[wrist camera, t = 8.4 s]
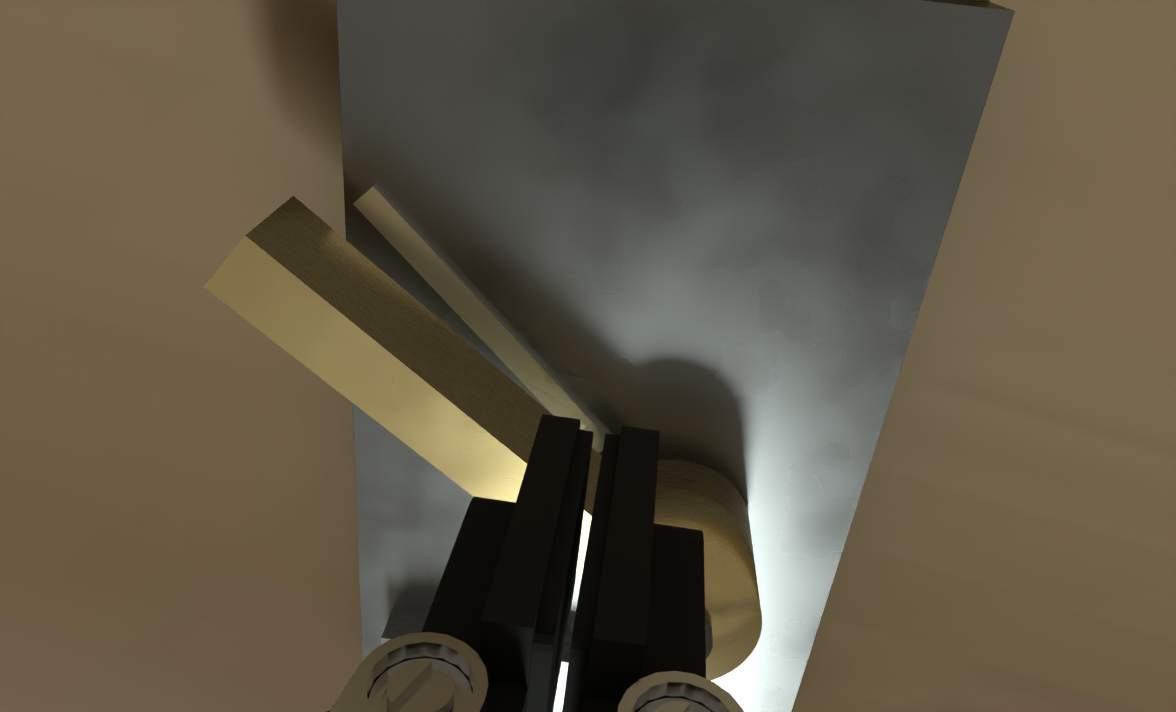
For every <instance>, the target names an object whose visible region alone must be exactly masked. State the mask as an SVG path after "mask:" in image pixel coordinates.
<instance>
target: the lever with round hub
mask: <svg viewBox="0 0 1176 712" xmlns="http://www.w3.org/2000/svg"><path fill="white" fill-rule="evenodd" d="M204 288H206V289H207V290H208V291H210V292H211V293H212V294H213V295H215V296H216V297H217V298H219V299H220V300H221V301H222V302H224V303H225V304H226V305H228V306H229V307H230V308H231V309H233V310H234V311H235V312H237V313H238V314H239V315H240V316H242V317H243V318H244V319H246V320H247V321H248V322H249V323H251V324H252V325H253V326H255V327H256V328H257V329H258V330H260V331H261V332H262V333H264V334H265V335H266V336H267V337H269V338H270V339H271V340H273V341H274V342H275V343H276V344H278V345H279V346H280V347H282V348H283V349H284V350H285V351H287V352H288V353H289V354H291V355H292V356H293V357H294V358H296V359H297V360H298V361H300V362H301V363H302V364H303V365H305V366H306V367H307V368H309V369H310V370H311V371H312V372H314V373H315V374H316V375H318V376H319V377H320V378H321V379H323V380H324V381H325V382H327V383H328V384H329V385H330V386H332V387H333V388H334V389H336V390H337V391H338V392H339V393H341V394H342V395H343V396H345V397H346V398H347V399H348V400H350V401H351V402H352V403H354V404H355V405H356V406H357V407H359V408H360V409H361V410H363V411H364V412H365V413H366V414H368V415H369V416H370V417H372V418H373V419H374V420H375V421H377V422H378V423H379V424H381V425H382V426H383V427H384V428H386V429H387V430H388V431H390V432H391V433H392V434H393V435H395V436H396V437H397V438H399V439H400V440H401V441H402V442H404V443H405V444H406V445H408V446H409V447H410V448H411V449H413V450H414V451H415V452H417V453H418V454H419V455H420V456H422V457H423V458H424V459H426V460H427V461H428V462H429V463H431V464H432V465H433V466H435V467H436V468H437V469H438V470H440V471H441V472H442V473H444V474H445V475H446V476H447V477H449V478H450V479H451V480H453V481H454V482H455V483H456V484H458V485H459V486H460V487H462V488H463V489H464V490H465V491H467V492H468V493H469V494H471V495H472V496H473V497H474V496H475V497H482V498H489V499H495V500H502V501H509V502H515V503H516V500H517V497H518V494H519V490H520V487H521V483H522V480H523V477H524V473H525V470H526V467H527V463H528V460H529V457H530V453H531V450H532V446H533V443H534V440H535V436H536V433H537V430H538V426H539V423H540V420H541V417H542V415H543V414H547V415H553V414H552V413H550V412H549V411H548V410H547V409H546V408H545V407H543V406H542V405H541V404H540V403H539V402H537V401H536V400H535V399H534V398H533V397H531V396H530V395H529V394H528V393H527V392H526V391H524V390H523V389H522V388H521V387H520V386H518V385H517V384H516V383H515V382H514V381H512V380H511V379H510V378H509V377H508V376H507V375H505V374H504V373H503V372H502V371H501V370H499V369H498V368H497V367H496V366H495V365H493V364H492V363H491V362H490V361H489V360H488V359H486V358H485V357H484V356H483V355H482V354H480V353H479V352H478V351H477V350H476V349H474V348H473V347H472V346H471V345H470V344H469V343H467V342H466V341H465V340H464V339H463V338H461V337H460V336H459V335H458V334H457V333H455V332H454V331H453V330H452V329H451V328H450V327H448V326H447V325H446V324H445V323H444V322H442V321H441V320H440V319H439V318H438V317H436V316H435V315H434V314H433V313H432V312H431V311H429V310H428V309H427V308H426V307H425V306H423V305H422V304H421V303H420V302H419V301H417V300H416V299H415V298H414V297H413V296H412V295H410V294H409V293H408V292H407V291H406V290H404V289H403V288H402V287H401V286H400V285H398V284H397V283H396V282H395V281H394V280H393V279H391V278H390V277H389V276H388V275H387V274H385V273H384V272H383V271H382V270H381V269H379V268H378V267H377V266H376V265H375V264H374V263H372V262H371V261H370V260H369V259H368V258H366V257H365V256H364V255H363V254H362V253H360V252H359V251H358V250H357V249H356V248H355V247H353V246H352V245H351V244H350V243H349V242H347V241H346V240H345V239H344V238H343V237H341V236H340V235H339V234H338V233H337V232H336V231H334V230H333V229H332V228H331V227H330V226H328V225H327V224H326V223H325V222H324V221H322V220H321V219H320V218H319V217H318V216H317V215H315V214H314V213H313V212H312V211H311V210H309V209H308V208H307V207H306V206H305V205H303V204H302V203H301V202H300V201H299V200H298V199H296V198H295V197H294V196H292V197H291V198H290V199H289V200H288V201H286V202H285V203H284V204H283V205H282V206H280V207H279V208H278V209H277V210H276V211H274V212H273V213H272V214H271V215H270V216H268V217H267V218H266V219H265V220H264V221H262V222H261V223H260V224H259V225H258V226H256V227H255V228H254V229H253V230H252V231H250V232H249V233H248V234H247V235H246V236H245V237H244V238H243V239H242V240H241V242H240V243H239V244H238V245H237V247H236V248H235V249H234V250H233V252H232V253H231V254H230V255H229V257H228V258H227V259H226V260H225V262H224V263H223V264H222V265H221V267H220V268H219V269H218V270H217V272H216V273H215V274H214V275H213V276H212V278H211V279H210V280H209V281H208V283H207V284H206V285H205V286H204ZM601 458H602V455H600V454H599V453H598V452H597V451H596V450H594V449H593V448H592V451H591V459H590V467H589V475H588V483H587V491H586V499H585V507H584V515H583V523H582V531H581V539H580V547H579V555H578V563H577V572H576V577H577V578H579V579H580V580H581V578H582V572H583V566H584V560H585V554H586V548H587V542H588V536H589V530H590V524H591V518H592V512H593V506H594V500H595V494H596V488H597V482H598V476H599V470H600V464H601ZM654 523H655V524H662V525H669V526H675V527H682V528H689V529H695V530H702V531H703V535H704V578H705V641H706V679H708V680H710V681H712V680H714V679H717V678H719V677H722V676H724V675H725V674H727V673H729V672H731V671H733V670H734V669H735V668H737V667H738V666H740V665H741V664H742V663H743V662H744V661H745V660H746V659H747V658H748V657H749V656H750V654H751V653H752V652H753V650H754V649H755V647H756V645H757V643H758V641H759V638H760V635H761V630H762V613H761V606H760V598H759V591H758V583H757V575H756V568H755V560H754V553H753V545H752V537H751V530H750V522H749V515H748V510H747V507H746V504H745V502H744V500H743V498H742V496H741V494H740V493H739V492H738V490H737V489H736V488H735V487H734V485H733V484H732V483H731V482H730V481H728V480H727V479H726V478H725V477H723V476H722V475H721V474H719V473H717V472H715V471H714V470H712V469H710V468H707V467H705V466H703V465H700V464H696V463H693V462H688V461H683V460H672V459H670V460H658V468H657V484H656V499H655V515H654Z"/></svg>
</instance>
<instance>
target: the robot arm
mask: <svg viewBox="0 0 1176 712" xmlns="http://www.w3.org/2000/svg"><path fill="white" fill-rule="evenodd" d="M593 433H594V432H593V431H587V430H580V419H574V418H567V417H561V416H554V415H547V414H543V415H542V417H541V420H540V423H539V426H538V430H537V433H536V436H535V440H534V443H533V446H532V450H531V453H530V457H529V460H528V463H527V467H526V470H525V473H524V477H523V480H522V483H521V487H520V490H519V494H518V497H517V500H516V503H515V502H509V501H502V500H495V499H489V498H482V497H475V496H474V497H473V498H472V500H471V502H470V504H469V506H468V509H467V512H466V514H465V517H464V520H463V522H462V525H461V528H460V530H459V533H458V536H457V538H456V541H455V544H454V546H453V549H452V552H451V554H450V557H449V560H448V562H447V565H446V568H445V570H444V573H443V576H442V578H441V581H440V584H439V586H438V589H437V592H436V594H435V597H434V600H433V602H432V605H431V608H430V610H429V613H428V616H427V618H426V621H425V624H424V626H423V629H422V632H421V633H410V634H406V635H402V636H399V637H396V638H393V639H390V640H388V641H387V642H385V643H383V644H382V645H380V646H379V647H377V648H376V649H374V650H372V651H371V653H370V654H369V655H368V656H367V657H366V658H365V659H364V660H363V662H362V663H361V664H360V665H359V666H358V668H357V670H356V671H355V673H354V674H353V676H352V677H351V679H350V680H349V682H348V683H347V685H346V687H345V688H344V690H343V691H342V693H341V694H340V696H339V697H338V699H337V700H336V702H335V704H334V705H333V707H332V708H331V710H329V711H327V712H553V708H554V702H555V696H556V691H557V685H558V679H559V674H560V668H561V662H562V656H563V651H564V645H565V639H566V633H567V628H568V622H569V616H570V611H571V605H572V599H573V593H574V586H575V579H576V572H577V563H578V555H579V547H580V539H581V531H582V523H583V515H584V507H585V499H586V491H587V483H588V475H589V467H590V459H591V451H592V443H593ZM659 437H660V431H657V430H650V429H643V428H637V427H630V426H623V425H622V429H621V435H614V434H607V433H606V434H605V440H604V446H603V452H602V458H601V464H600V470H599V476H598V482H597V488H596V494H595V500H594V506H593V512H592V518H591V524H590V530H589V536H588V542H587V548H586V554H585V560H584V566H583V572H582V578H581V584H580V590H579V596H578V602H577V608H576V614H575V620H574V627H573V633H572V640H571V647H570V655H569V663H568V671H567V679H566V686H565V694H564V702H563V710H562V712H744V710H743V709H742V708H741V706H740V705H739V704H738V703H737V702H736V700H735V699H734V698H733V697H732V695H731V694H730V693H728V692H727V691H725V690H724V689H723V688H721V687H720V686H719V685H717V684H716V683H715V682H713V681H710V680H708V679H706V641H705V578H704V535H703V531H702V530H695V529H689V528H682V527H675V526H669V525H662V524H655V523H654V515H655V499H656V484H657V468H658V453H659Z"/></svg>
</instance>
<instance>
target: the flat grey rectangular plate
mask: <svg viewBox="0 0 1176 712" xmlns="http://www.w3.org/2000/svg"><path fill="white" fill-rule="evenodd" d="M1014 12H1015V11H1013V10H1010V9H1007V8H1005V7H1002V6H999V5H996V4H994V3H991V2H983V1H974V0H337V25H338V50H339V75H340V100H341V125H342V150H343V175H344V200H345V225H346V241H347V242H349V243H350V244H351V245H352V246H353V247H355V248H356V249H357V250H358V251H359V252H360V253H362V254H363V255H364V256H365V257H366V258H368V259H369V260H370V261H371V262H372V263H374V264H375V265H376V266H377V267H378V268H379V269H381V270H382V271H383V272H384V273H385V274H387V275H388V276H389V277H390V278H391V279H393V280H394V281H395V282H396V283H397V284H398V285H400V286H401V287H402V288H403V289H404V290H406V291H407V292H408V293H409V294H410V295H412V296H413V297H414V298H415V299H416V300H417V301H419V302H420V303H421V304H422V305H423V306H425V307H426V308H427V309H428V310H429V311H431V312H432V313H433V314H434V315H435V316H436V317H438V318H439V319H440V320H441V321H442V322H444V323H445V324H446V325H447V326H448V327H450V328H451V329H452V330H453V331H454V332H455V333H457V334H458V335H459V336H460V337H461V338H463V339H464V340H465V341H466V342H467V343H469V344H470V345H471V346H472V347H473V348H474V349H476V350H477V351H478V352H479V353H480V354H482V355H483V356H484V357H485V358H486V359H488V360H489V361H490V362H491V363H492V364H493V365H495V366H496V367H497V368H498V369H499V370H501V371H502V372H503V373H504V374H505V375H507V376H508V377H509V378H510V379H511V380H512V381H514V382H515V383H516V384H517V385H518V386H520V387H521V388H522V389H523V390H524V391H526V392H527V393H528V394H529V395H530V396H531V397H533V398H534V399H535V400H536V401H537V402H539V403H540V404H541V405H542V406H543V407H545V408H546V409H547V410H548V411H549V412H550V413H552V414H553V415H554V416H561V417H567V418H574V419H580V430H587V431H593V432H594V433H593V443H592V448H593V449H594V450H596V451H597V452H598V453H599V454H600V455H602V452H603V446H604V440H605V434H606V433H607V434H614V435H621V429H622V425H623V426H630V427H637V428H643V429H650V430H657V431H660V437H659V453H658V460H670V459H672V460H683V461H688V462H693V463H696V464H700V465H703V466H705V467H707V468H710V469H712V470H714V471H715V472H717V473H719V474H721V475H722V476H723V477H725V478H726V479H727V480H728V481H730V482H731V483H732V484H733V485H734V487H735V488H736V489H737V490H738V492H739V493H740V494H741V496H742V498H743V500H744V502H745V504H746V507H747V510H748V515H749V522H750V530H751V537H752V545H753V553H754V560H755V568H756V575H757V583H758V591H759V598H760V606H761V613H762V630H761V635H760V638H759V641H758V643H757V645H756V647H755V649H754V650H753V652H752V653H751V654H750V656H749V657H748V658H747V659H746V660H745V661H744V662H743V663H742V664H741V665H740V666H738V667H737V668H735V669H734V670H733V671H731V672H729V673H727V674H725V675H724V676H722V677H719V678H717V679H714V680H712V681H713V682H715V683H716V684H717V685H719V686H720V687H721V688H723V689H724V690H725V691H727V692H728V693H730V694H731V695H732V697H733V698H734V699H735V700H736V702H737V703H738V704H739V705H740V706H741V708H742V709H743V710H744V712H791V710H792V707H793V704H794V701H795V698H796V695H797V692H798V689H799V685H800V682H801V679H802V676H803V673H804V670H805V667H806V664H807V660H808V657H809V654H810V651H811V648H812V645H813V642H814V638H815V635H816V632H817V629H818V626H819V623H820V620H821V617H822V613H823V610H824V607H825V604H826V601H827V598H828V595H829V591H830V588H831V585H832V582H833V579H834V576H835V573H836V570H837V566H838V563H839V560H840V557H841V554H842V551H843V548H844V544H845V541H846V538H847V535H848V532H849V529H850V526H851V523H852V519H853V516H854V513H855V510H856V507H857V504H858V501H859V497H860V494H861V491H862V488H863V485H864V482H865V479H866V476H867V472H868V469H869V466H870V463H871V460H872V457H873V454H874V450H875V447H876V444H877V441H878V438H879V435H880V432H881V429H882V425H883V422H884V419H885V416H886V413H887V410H888V407H889V403H890V400H891V397H892V394H893V391H894V388H895V385H896V382H897V378H898V375H899V372H900V369H901V366H902V363H903V360H904V356H905V353H906V350H907V347H908V344H909V341H910V338H911V335H912V331H913V328H914V325H915V322H916V319H917V316H918V313H919V310H920V306H921V303H922V300H923V297H924V294H925V291H926V288H927V284H928V281H929V278H930V275H931V272H932V269H933V266H934V263H935V259H936V256H937V253H938V250H939V247H940V244H941V241H942V237H943V234H944V231H945V228H946V225H947V222H948V219H949V216H950V212H951V209H952V206H953V203H954V200H955V197H956V194H957V190H958V187H959V184H960V181H961V178H962V175H963V172H964V169H965V165H966V162H967V159H968V156H969V153H970V150H971V147H972V143H973V140H974V137H975V134H976V131H977V128H978V125H979V122H980V118H981V115H982V112H983V109H984V106H985V103H986V100H987V96H988V93H989V90H990V87H991V84H992V81H993V78H994V75H995V71H996V68H997V65H998V62H999V59H1000V56H1001V53H1002V49H1003V46H1004V43H1005V40H1006V37H1007V34H1008V31H1009V28H1010V24H1011V21H1012V18H1013V15H1014ZM353 424H354V449H355V474H356V499H357V524H358V549H359V574H360V599H361V624H362V649H363V660H364V659H365V658H366V657H367V656H368V655H369V654H370V653H371V651H372V650H374V649H376V648H377V647H379V646H380V645H382V644H383V643H385V642H387V641H388V640H390V639H393V638H396V637H399V636H402V635H406V634H410V633H421V632H422V629H423V626H424V624H425V621H426V618H427V616H428V613H429V610H430V608H431V605H432V602H433V600H434V597H435V594H436V592H437V589H438V586H439V584H440V581H441V578H442V576H443V573H444V570H445V568H446V565H447V562H448V560H449V557H450V554H451V552H452V549H453V546H454V544H455V541H456V538H457V536H458V533H459V530H460V528H461V525H462V522H463V520H464V517H465V514H466V512H467V509H468V506H469V504H470V502H471V500H472V498H473V496H472V495H471V494H469V493H468V492H467V491H465V490H464V489H463V488H462V487H460V486H459V485H458V484H456V483H455V482H454V481H453V480H451V479H450V478H449V477H447V476H446V475H445V474H444V473H442V472H441V471H440V470H438V469H437V468H436V467H435V466H433V465H432V464H431V463H429V462H428V461H427V460H426V459H424V458H423V457H422V456H420V455H419V454H418V453H417V452H415V451H414V450H413V449H411V448H410V447H409V446H408V445H406V444H405V443H404V442H402V441H401V440H400V439H399V438H397V437H396V436H395V435H393V434H392V433H391V432H390V431H388V430H387V429H386V428H384V427H383V426H382V425H381V424H379V423H378V422H377V421H375V420H374V419H373V418H372V417H370V416H369V415H368V414H366V413H365V412H364V411H363V410H361V409H360V408H359V407H357V406H356V405H355V404H354V403H353ZM580 584H581V580H580V579H579V578H577V577H576V579H575V586H574V593H573V599H572V605H571V611H570V616H569V622H568V628H567V633H566V639H565V645H564V651H563V656H562V662H561V668H560V674H559V679H558V685H557V691H556V696H555V702H554V708H553V712H562V710H563V702H564V694H565V686H566V679H567V671H568V663H569V655H570V647H571V640H572V633H573V627H574V620H575V614H576V608H577V602H578V596H579V590H580Z"/></svg>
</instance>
